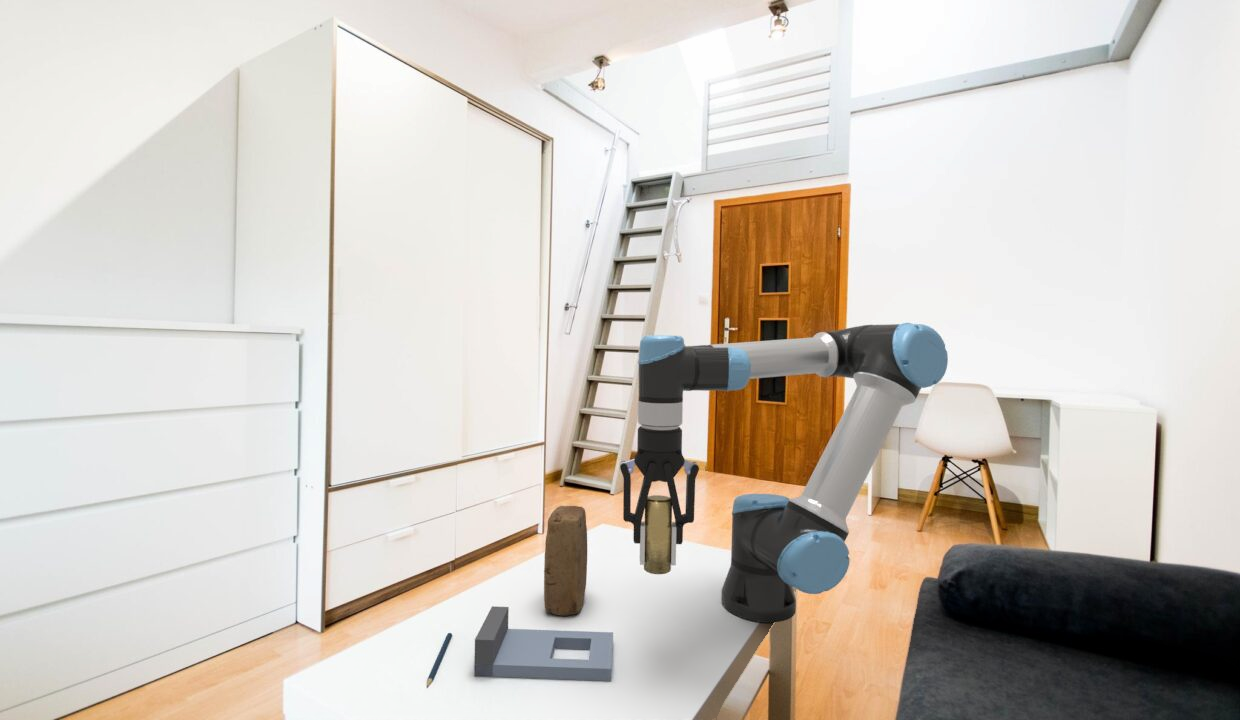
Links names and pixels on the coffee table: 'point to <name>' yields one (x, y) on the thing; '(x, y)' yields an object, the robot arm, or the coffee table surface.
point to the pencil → (439, 659)
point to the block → (565, 561)
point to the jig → (539, 651)
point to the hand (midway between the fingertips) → (657, 561)
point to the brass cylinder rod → (658, 534)
